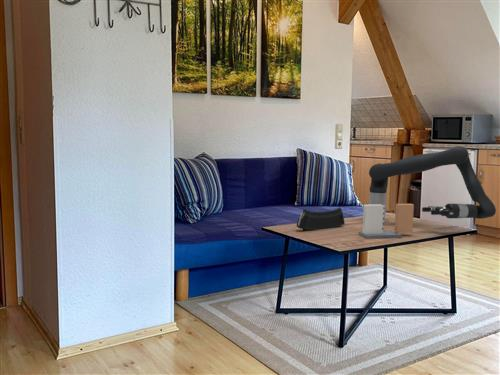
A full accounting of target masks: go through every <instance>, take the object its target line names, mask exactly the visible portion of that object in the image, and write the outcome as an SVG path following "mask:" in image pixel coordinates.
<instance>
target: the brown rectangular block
mask: <svg viewBox="0 0 500 375" xmlns="http://www.w3.org/2000/svg"><path fill="white" fill-rule="evenodd" d="M414 209H415V204H413V203H396V204H395V213H394V214H395V215H394V232H396V233H399V234H405V233H406V234H410V233H411V234H413V229H414V226H413V225H414V224H413V223H414Z"/></svg>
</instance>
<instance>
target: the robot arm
mask: <svg viewBox="0 0 500 375" xmlns="http://www.w3.org/2000/svg"><path fill="white" fill-rule="evenodd" d="M451 165H455V166H456V167H457V168H458V171H459V172H460V174H461V176H462V179H463V181H464V184H465V188H466V190H467V192H468V195H469V196H470V199H471V200H472V202H475V203H478V205H477V204H476V205H475V204H472V203H447V204H445V206H442V205H441V206H433V205H432V206H430V205H428V206H427V207H426V206H424V207H422V208H421V212H423V213H430V215H431V216H440V217H441V216H442V217H446V218H447V219H472V218H473V219H482V220H483V219H487V218H491V217H494V216H495V214H496V211H497V210H496V206H495V204H494V203H493V202H492V200H491V199H490V198H489V197H488V195H487V194H486V192H485V190H484V188H483V186H482V184H481V181H480V180H479V177H478V176H477V174H476V172H475V171H474V168H473V166H472V163H471V158H470V153H469V151H468V149H467V148H466V147H464V146H462V145H460V146H459V145H458V146H455V147H454V146H453V147H452V148H448V149H446V150H442V151H438V152H431V153H430V152H429V153H422V154H421V153H420V154H417V155H411V156H408V157H404V158H401V159H399V160H397V161H396V160H395V161H393V162H388V163H375V164H373V165H371V166H370V169H369V171H368V174H369V177H370V178H371V181H370V186H369V193H368V195H369V196H368V197H369V198H368V199H369V200H368V205H374V204H383V205H385V206H384V207H385V208H384V224H385V223H386V211H387V210H386V209H387V190H388V184H389V178H391V177H396V176H401V175H402V176H403V175H404V176H405V175H411V174H418V173H423V172H426V171H430V170H433V169H436V168H439V167H443V166H451Z"/></svg>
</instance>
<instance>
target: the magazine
mask: <svg viewBox="0 0 500 375" xmlns="http://www.w3.org/2000/svg"><path fill="white" fill-rule="evenodd" d="M344 225H345V217H344V212H343V210H342V208H341V207H340V206H339V207H337V208H335V209H331V210H324V211H312V210H308V209H303V210H302V212H301V213H300V215H299V216H298V219H297V223H296V227H297V228H298V229H302V232H305V231H320V230H328V229H333V228H337V227H340V226H344Z"/></svg>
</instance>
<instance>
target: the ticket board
mask: <svg viewBox="0 0 500 375" xmlns="http://www.w3.org/2000/svg"><path fill="white" fill-rule="evenodd" d="M384 206H385V205H383V204H374V205H369V204H363V210H362V211H363V212H362V228H361V229H362V230H358V233H357V234H358V235H359V236H361V237H362V238H365V239H367V240H369V239H372V240H373V239H401V238H402V233H396V232H394V231H395V230H394V231H393V230H384V224H385V223H384V208H385V207H384Z"/></svg>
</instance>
